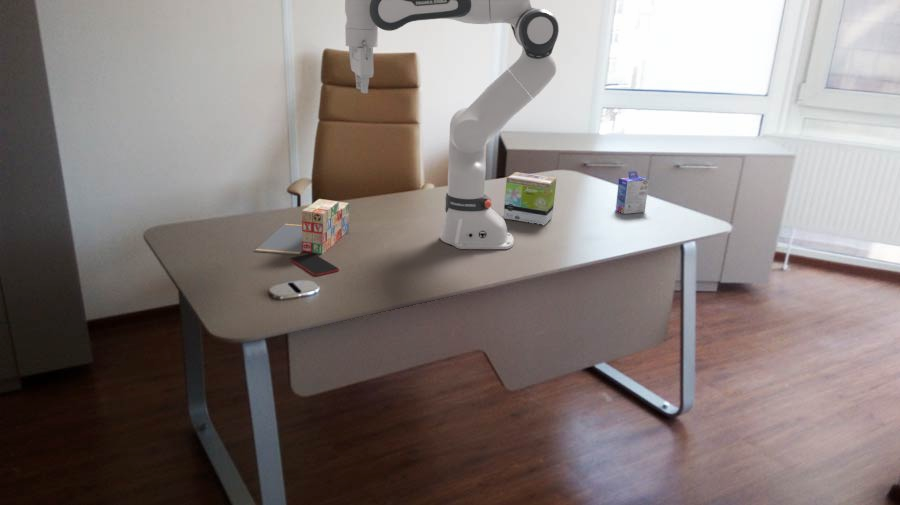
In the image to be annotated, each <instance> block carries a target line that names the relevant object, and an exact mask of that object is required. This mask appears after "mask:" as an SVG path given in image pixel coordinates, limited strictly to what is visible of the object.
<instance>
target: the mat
mask: <svg viewBox="0 0 900 505" xmlns="http://www.w3.org/2000/svg"><path fill="white" fill-rule="evenodd" d="M254 252H256V253H270V254H282V255H293V256H294V255H297V256H301V255H302V253H303V252H304V251H302V224H293V223H284V224H283V225H281V227H279V229H278V230H276V231H275V232H273V233H272V235H270V236H269V237H267V239H266V240H265V241H264V242H263V243H261V244H260V245H259V246H257V248H256V249H255V250H254Z"/></svg>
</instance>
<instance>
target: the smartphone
mask: <svg viewBox="0 0 900 505" xmlns="http://www.w3.org/2000/svg"><path fill="white" fill-rule="evenodd" d="M289 261H290V262H292V263H294V264H295V265H296V266H298V267H299V268H301V269H303V270H304V271H306V272H307V273H309V274H310V275H312V276H313V277H320V276H325V275H329V274H333V273H338V272H339V271H340V269H339V267H337V266H335V265H334V264H332V263H330V262H329V261H327V260H325V259H324V258H322V257H320V256H319V255H317V253H311V252H309V253H308V254H300V255H297V256H292V257H290V258H289Z"/></svg>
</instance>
